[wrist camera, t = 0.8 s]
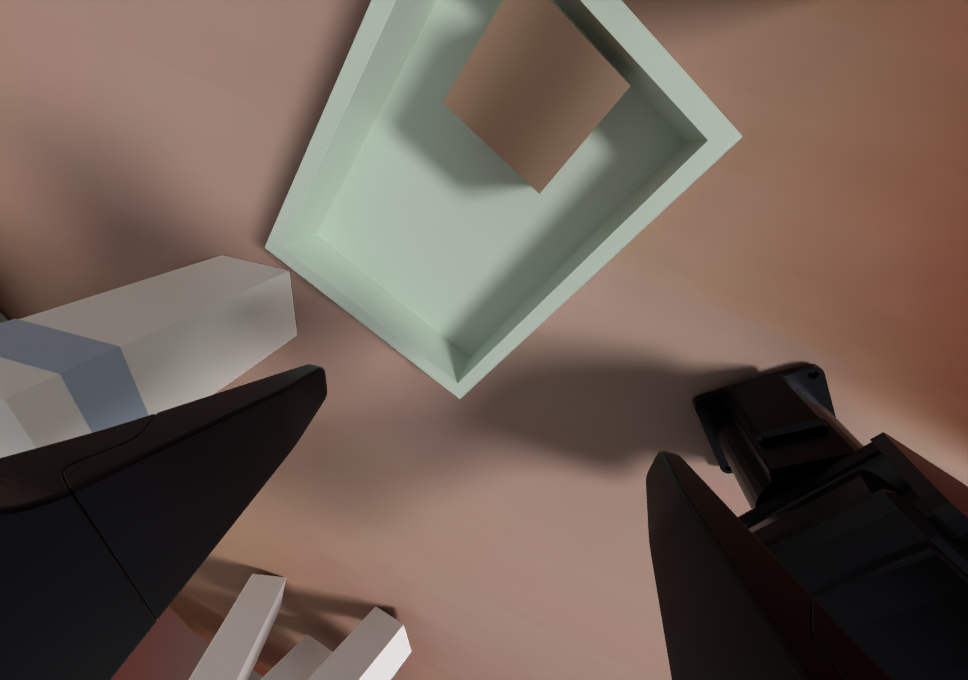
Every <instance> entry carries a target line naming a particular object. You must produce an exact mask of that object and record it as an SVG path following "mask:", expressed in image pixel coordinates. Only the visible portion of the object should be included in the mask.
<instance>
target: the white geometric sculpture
mask: <svg viewBox="0 0 968 680" xmlns="http://www.w3.org/2000/svg"><path fill="white" fill-rule="evenodd" d="M285 582H286V578H285V577H277V576H269V575H260V574H252V575H251V576H250V578H249V580H248V581H247V583H246V585H245V586H244V588H243V590H242V591H241V593H240V595H239V596H238V598H237V600H236V601H235V603H234V605H233V606H232V608H231V610H230V611H229V613H228V615H227V616H226V618H225V620H224V622H223V623H222V625H221V627H220V628H219V630H218V632H217V633H216V635H215V637H214V638H213V640H212V642H211V643H210V645H209V647H208V648H207V650H206V652H205V653H204V655H203V657H202V658H201V660H200V662H199V663H198V665H197V667H196V668H195V670H194V672H193V673H192V675H191V677H190V678H189V680H248V678H249V677H250V674H251V672H252V670H253V668H254V666H255V663H256V661H257V659H258V657H259V655H260V653H261V650H262V648H263V646H264V644H265V642H266V639H267V637H268V635H269V633H270V631H271V629H272V626H273V624H274V622H275V620H276V618H277V615H278V613H279V611H280V607H281V602H282V597H283V592H284V587H285ZM410 653H411V648H410V645H409V641H408V638H407V635H406V631H405V628H404V625H403V624H402V623H400V622H399V621H397V620H396V619H394V618H393V617H391V616H390V615H388V614H387V613H385V612H384V611H382V610H381V609H379V608H378V607H376V606H375V607H374V608H373V609H372V610H371V612H370V613H369V614H368V615H367V616H366V617H365V618H364V619H363V620H362V621H361V622H360V623H359V625H358V626H357V627H356V628H355V629H354V630H353V631H352V632H351V633H350V634H349V635H348V636H347V638H346V639H345V640H344V641H343V642H342V643H341V644H340V645H339V646H338V647H337V648H336V649H335V650H334V652H332V651H331V650H329V649H328V648H326V647H325V646H323V645H322V644H320V643H319V642H317V641H316V640H315V639H313V638H312V637H310V636H309V635H306V636H305V637H304V638H303V639H302V640H301V641H300V642H299V643H298V644H297V645H295V646H294V647H293V648H292V649H291V650H290V651H289V652H288V653H287V654H286V655H285V656H284V657H283V658H282V659H281V660H280V661H279V662H278V663H277V664H276V665H275V666H274V667H273V668H272V669H271V670H270V671H269V672H268V673H267V674H266V675H265V676H264V677H263V678H262V679H261V680H391V679H392V677H393V676H394V675H395V673H396V672H397V671H398V669H399V668H400V667H401V665H402V664H403V663H404V661H405V660H406V659H407V657H408V656H409V654H410Z"/></svg>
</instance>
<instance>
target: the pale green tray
mask: <svg viewBox="0 0 968 680" xmlns="http://www.w3.org/2000/svg"><path fill="white" fill-rule="evenodd" d="M502 1H503V0H371V2H370V5H369V7H368V9H367V12H366V14H365V16H364V19H363V21H362V23H361V25H360V28H359V30H358V32H357V35H356V37H355V39H354V42H353V44H352V46H351V49H350V51H349V53H348V56H347V58H346V60H345V63H344V65H343V67H342V69H341V72H340V74H339V76H338V79H337V81H336V83H335V86H334V88H333V90H332V93H331V95H330V97H329V100H328V102H327V104H326V106H325V109H324V111H323V113H322V116H321V118H320V120H319V123H318V125H317V127H316V130H315V132H314V134H313V137H312V139H311V141H310V143H309V146H308V148H307V150H306V153H305V155H304V157H303V160H302V162H301V164H300V167H299V169H298V171H297V174H296V176H295V178H294V181H293V183H292V185H291V187H290V190H289V192H288V194H287V197H286V199H285V201H284V204H283V206H282V208H281V211H280V213H279V215H278V218H277V220H276V222H275V224H274V227H273V229H272V231H271V234H270V236H269V238H268V241H267V243H266V245H265V248H266V249H267V250H268V251H270V252H271V253H272V254H273V255H275V256H276V257H277V258H279V259H280V260H281V261H282V262H284V263H285V264H286V265H288V266H289V267H290V268H291V269H293V270H294V271H295V272H297V273H298V274H299V275H301V276H302V277H303V278H304V279H306V280H307V281H308V282H310V283H311V284H312V285H313V286H315V287H316V288H317V289H319V290H320V291H321V292H322V293H324V294H325V295H326V296H328V297H329V298H330V299H331V300H333V301H334V302H335V303H337V304H338V305H339V306H340V307H342V308H343V309H344V310H346V311H347V312H348V313H349V314H351V315H352V316H353V317H355V318H356V319H357V320H358V321H360V322H361V323H362V324H364V325H365V326H366V327H368V328H369V329H370V330H371V331H373V332H374V333H375V334H377V335H378V336H379V337H380V338H382V339H383V340H384V341H386V342H387V343H388V344H389V345H391V346H392V347H393V348H395V349H396V350H397V351H398V352H400V353H401V354H402V355H404V356H405V357H406V358H407V359H409V360H410V361H411V362H413V363H414V364H415V365H416V366H418V367H419V368H420V369H422V370H423V371H424V372H425V373H427V374H428V375H429V376H431V377H432V378H433V379H434V380H436V381H437V382H438V383H440V384H441V385H442V386H444V387H445V388H446V389H447V390H449V391H450V392H451V393H453V394H454V395H455V396H456V397H458V398H459V399H461V398H462V397H463V396H464V395H465V394H466V393H467V392H468V391H469V390H470V389H471V388H473V387H474V386H475V385H476V384H477V383H478V382H479V381H480V380H481V379H482V378H483V377H484V376H485V375H487V374H488V373H489V372H490V371H491V370H492V369H493V368H494V367H495V366H496V365H497V364H498V363H499V362H501V361H502V360H503V359H504V358H505V357H506V356H507V355H508V354H509V353H510V352H511V351H512V350H513V349H515V348H516V347H517V346H518V345H519V344H520V343H521V342H522V341H523V340H524V339H525V338H526V337H527V336H529V335H530V334H531V333H532V332H533V331H534V330H535V329H536V328H537V327H538V326H539V325H540V324H541V323H543V322H544V321H545V320H546V319H547V318H548V317H549V316H550V315H551V314H552V313H553V312H554V311H555V310H557V309H558V308H559V307H560V306H561V305H562V304H563V303H564V302H565V301H566V300H567V299H568V298H569V297H571V296H572V295H573V294H574V293H575V292H576V291H577V290H578V289H579V288H580V287H581V286H582V285H583V284H585V283H586V282H587V281H588V280H589V279H590V278H591V277H592V276H593V275H594V274H595V273H596V272H597V271H599V270H600V269H601V268H602V267H603V266H604V265H605V264H606V263H607V262H608V261H609V260H610V259H611V258H613V257H614V256H615V255H616V254H617V253H618V252H619V251H620V250H621V249H622V248H623V247H624V246H625V245H627V244H628V243H629V242H630V241H631V240H632V239H633V238H634V237H635V236H636V235H637V234H638V233H639V232H641V231H642V230H643V229H644V228H645V227H646V226H647V225H648V224H649V223H650V222H651V221H652V220H653V219H655V218H656V217H657V216H658V215H659V214H660V213H661V212H662V211H663V210H664V209H665V208H666V207H667V206H668V205H670V204H671V203H672V202H673V201H674V200H675V199H676V198H677V197H678V196H679V195H680V194H681V193H682V192H684V191H685V190H686V189H687V188H688V187H689V186H690V185H691V184H692V183H693V182H694V181H695V180H696V179H698V178H699V177H700V176H701V175H702V174H703V173H704V172H705V171H706V170H707V169H708V168H709V167H710V166H712V165H713V164H714V163H715V162H716V161H717V160H718V159H719V158H720V157H721V156H722V155H723V154H724V153H726V152H727V151H728V150H729V149H730V148H731V147H732V146H733V145H734V144H735V143H736V142H737V141H738V140H740V139H741V138H742V137H743V136H742V135H741V134H740V133H739V132H738V131H737V130H736V128H735V127H734V126H733V125H732V124H731V123H730V122H729V121H728V119H727V118H726V117H725V116H724V115H723V114H722V113H721V112H720V110H719V109H718V108H717V107H716V106H715V105H714V104H713V103H712V101H711V100H710V99H709V98H708V97H707V96H706V95H705V94H704V92H703V91H702V90H701V89H700V88H699V87H698V86H697V85H696V83H695V82H694V81H693V80H692V79H691V78H690V77H689V76H688V74H687V73H686V72H685V71H684V70H683V69H682V68H681V67H680V65H679V64H678V63H677V62H676V61H675V60H674V59H673V58H672V56H671V55H670V54H669V53H668V52H667V51H666V50H665V49H664V47H663V46H662V45H661V44H660V43H659V42H658V41H657V40H656V38H655V37H654V36H653V35H652V34H651V33H650V32H649V31H648V29H647V28H646V27H645V26H644V25H643V24H642V23H641V22H640V20H639V19H638V18H637V17H636V16H635V15H634V14H633V13H632V11H631V10H630V9H629V8H628V7H627V6H626V5H625V4H624V2H623V1H622V0H551V1H552V2H553V3H554V4H555V5H556V6H557V7H558V8H559V9H560V10H561V12H562V13H563V14H564V15H565V16H566V17H567V18H568V19H569V20H570V21H571V22H572V23H573V24H574V25H575V27H576V28H577V29H578V30H579V31H580V32H581V33H582V34H583V35H584V36H585V37H586V38H587V39H588V41H589V42H590V43H591V44H592V45H593V46H594V47H595V48H596V49H597V50H598V51H599V52H600V53H601V55H602V56H603V57H604V58H605V59H606V60H607V61H608V62H609V63H610V64H611V65H612V66H613V67H614V68H615V70H616V71H617V72H618V73H619V74H620V75H621V76H622V77H623V78H624V79H625V80H626V81H627V82H628V84H629V85H630V87H629V89H628V90H627V91H626V92H625V93H624V94H623V96H622V97H621V98H620V99H619V100H618V102H617V103H616V104H615V105H614V106H613V107H612V109H611V110H610V111H609V112H608V113H607V115H606V116H605V117H604V118H603V119H602V121H601V122H600V123H599V124H598V125H597V126H596V128H595V129H594V130H593V131H592V132H591V134H590V135H589V136H588V137H587V138H586V139H585V141H584V142H583V143H582V144H581V145H580V147H579V148H578V149H577V150H576V151H575V152H574V154H573V155H572V156H571V157H570V158H569V160H568V161H567V162H566V163H565V164H564V165H563V167H562V168H561V169H560V170H559V171H558V173H557V174H556V175H555V176H554V177H553V179H552V180H551V181H550V182H549V183H548V184H547V186H546V187H545V188H544V189H543V190H542V192H541V193H540V194H539V193H538V192H537V191H536V190H535V189H534V188H533V187H531V186H530V185H529V184H528V183H527V182H526V181H525V180H524V179H523V178H522V177H521V176H520V175H519V174H518V173H517V172H516V171H515V170H513V169H512V168H511V167H510V166H509V165H508V164H507V163H506V162H505V161H504V160H503V159H502V158H501V157H500V156H499V155H498V154H497V153H495V152H494V151H493V150H492V149H491V148H490V147H489V146H488V145H487V144H486V143H485V142H484V141H483V140H482V139H481V138H480V137H479V136H477V135H476V134H475V133H474V132H473V131H472V130H471V129H470V128H469V127H468V126H467V125H466V124H465V123H464V122H463V121H462V120H461V119H459V118H458V117H457V116H456V115H455V114H454V113H453V112H452V111H451V110H450V109H449V108H448V107H447V106H446V105H445V104H444V103H443V100H444V98H445V97H446V95H447V93H448V92H449V90H450V88H451V87H452V85H453V83H454V82H455V80H456V78H457V77H458V75H459V73H460V72H461V70H462V68H463V66H464V65H465V63H466V61H467V60H468V58H469V56H470V55H471V53H472V51H473V50H474V48H475V46H476V45H477V43H478V41H479V40H480V38H481V36H482V35H483V33H484V31H485V30H486V28H487V26H488V25H489V23H490V21H491V19H492V18H493V16H494V14H495V13H496V11H497V9H498V8H499V6H500V4H501V3H502Z"/></svg>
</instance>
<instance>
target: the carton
mask: <svg viewBox="0 0 968 680" xmlns="http://www.w3.org/2000/svg"><path fill="white" fill-rule="evenodd" d="M296 336H297V328H296V320H295V312H294V303H293V295H292V287H291V279H290V271H288V270H284V269H280V268H276V267H271V266H267V265H263V264H258V263H254V262H250V261H245V260H241V259H237V258H232V257H228V256H224V255H221V256H217V257H214V258H211V259H208V260H205V261H202V262H198V263H195V264H192V265H189V266H186V267H183V268H179V269H176V270H173V271H170V272H167V273H164V274H160V275H157V276H154V277H151V278H148V279H145V280H141V281H138V282H135V283H132V284H129V285H126V286H122V287H119V288H116V289H113V290H110V291H107V292H103V293H100V294H97V295H94V296H91V297H88V298H84V299H81V300H78V301H75V302H72V303H69V304H65V305H62V306H59V307H56V308H53V309H50V310H46V311H43V312H40V313H37V314H34V315H31V316H27V317H24V318H21V319H12V320H9V321H6V322H3V323H0V458H2V457H6V456H10V455H13V454H17V453H21V452H24V451H28V450H32V449H35V448H39V447H43V446H46V445H50V444H54V443H57V442H61V441H65V440H68V439H72V438H75V437H79V436H82V435H86V434H89V433H93V432H97V431H100V430H104V429H107V428H110V427H113V426H117V425H120V424H123V423H126V422H130V421H133V420H136V419H139V418H142V417H145V416H148V415H151V414H157V413H158V412H161V411H164V410H167V409H170V408H173V407H177V406H180V405H183V404H186V403H189V402H192V401H195V400H198V399H201V398H205V397H208V396H211V395H213V394H215V393H216V392H218V391H219V390H221V389H222V388H223V387H225V386H226V385H228V384H229V383H230V382H232V381H233V380H235V379H236V378H238V377H239V376H240V375H242V374H243V373H245V372H246V371H248V370H249V369H250V368H252V367H253V366H255V365H256V364H257V363H259V362H260V361H262V360H263V359H265V358H266V357H267V356H269V355H270V354H272V353H273V352H275V351H276V350H277V349H279V348H280V347H282V346H283V345H284V344H286V343H287V342H289V341H290V340H292V339H293V338H294V337H296Z"/></svg>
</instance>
